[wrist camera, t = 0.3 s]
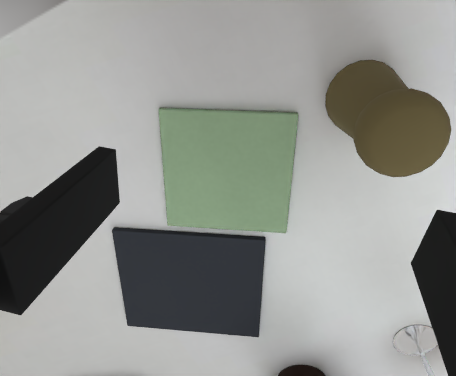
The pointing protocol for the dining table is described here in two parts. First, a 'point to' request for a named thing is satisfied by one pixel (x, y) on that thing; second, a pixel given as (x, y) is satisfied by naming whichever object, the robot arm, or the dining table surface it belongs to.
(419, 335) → the wineglass
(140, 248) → the charcoal mat
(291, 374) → the coffee mug
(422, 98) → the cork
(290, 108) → the dining table surface
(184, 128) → the sage mat
